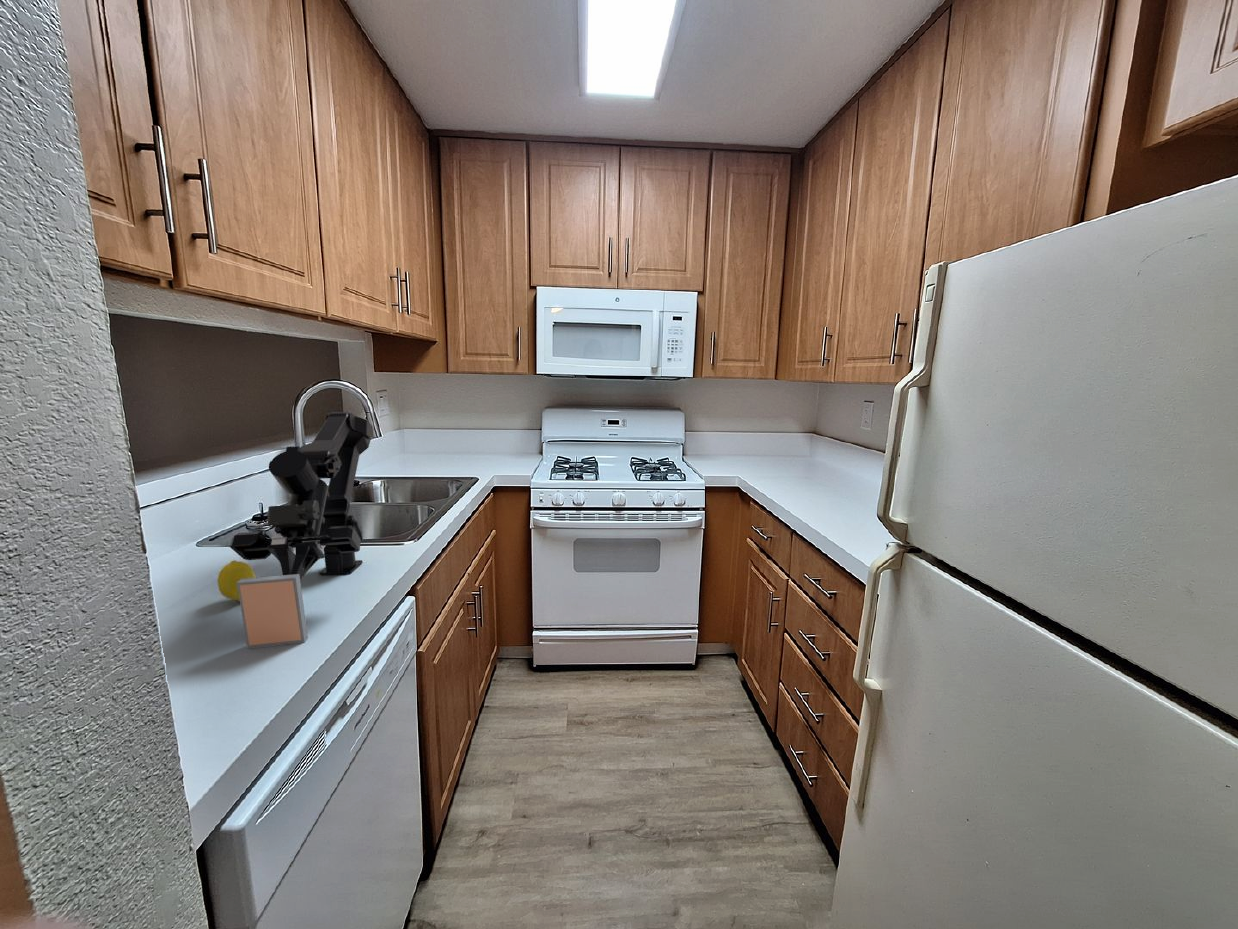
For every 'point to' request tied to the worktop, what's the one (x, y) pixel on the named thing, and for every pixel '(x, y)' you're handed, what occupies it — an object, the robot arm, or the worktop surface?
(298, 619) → the tile
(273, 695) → the worktop surface
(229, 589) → the lemon
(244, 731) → the worktop surface
